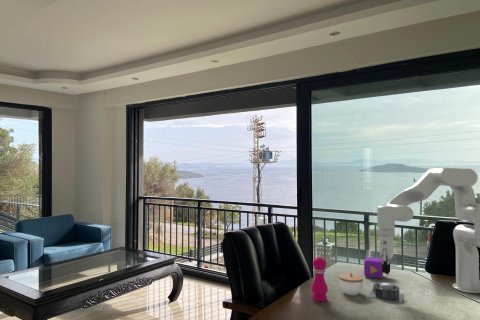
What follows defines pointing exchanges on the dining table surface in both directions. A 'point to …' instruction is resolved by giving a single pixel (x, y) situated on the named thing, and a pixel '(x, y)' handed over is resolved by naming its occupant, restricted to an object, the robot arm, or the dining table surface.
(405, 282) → the dining table surface
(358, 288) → the lidded jar
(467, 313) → the dining table surface
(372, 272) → the toy camera
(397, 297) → the lens barrel
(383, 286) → the grey rounded dome
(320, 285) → the pepper mill
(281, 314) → the dining table surface
